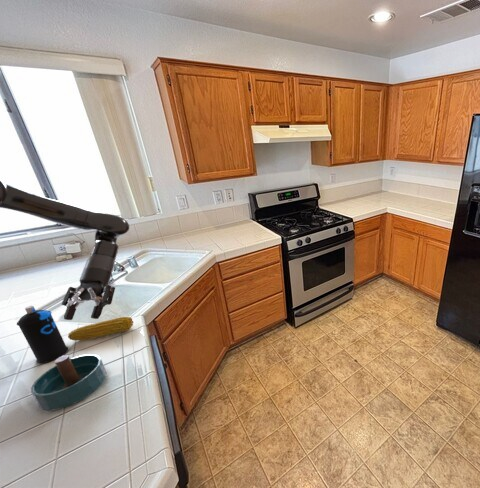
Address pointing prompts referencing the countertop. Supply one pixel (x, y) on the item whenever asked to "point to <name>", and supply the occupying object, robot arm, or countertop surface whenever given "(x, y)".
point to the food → (101, 329)
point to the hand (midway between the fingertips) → (81, 319)
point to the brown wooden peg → (67, 371)
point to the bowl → (55, 397)
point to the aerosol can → (42, 335)
